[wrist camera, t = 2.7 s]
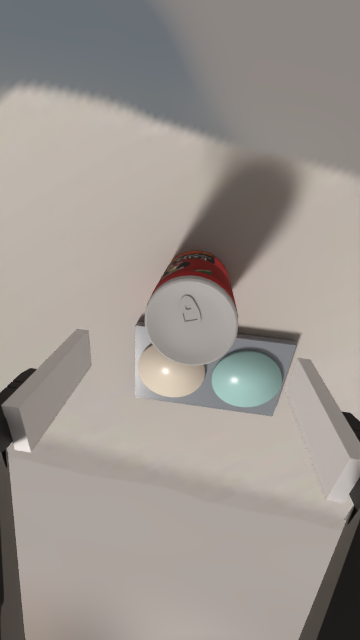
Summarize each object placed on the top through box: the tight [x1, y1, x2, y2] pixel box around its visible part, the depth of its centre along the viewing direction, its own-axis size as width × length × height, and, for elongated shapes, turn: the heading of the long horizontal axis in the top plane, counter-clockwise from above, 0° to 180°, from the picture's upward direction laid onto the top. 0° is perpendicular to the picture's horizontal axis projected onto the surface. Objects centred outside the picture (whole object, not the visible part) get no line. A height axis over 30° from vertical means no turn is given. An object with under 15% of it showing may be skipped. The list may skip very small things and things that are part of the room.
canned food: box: [145, 251, 238, 366], centre depth 25 cm, size 8×8×11 cm
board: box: [135, 321, 297, 416], centre depth 35 cm, size 20×12×2 cm, turn 85°
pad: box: [212, 350, 282, 407], centre depth 34 cm, size 9×9×1 cm
